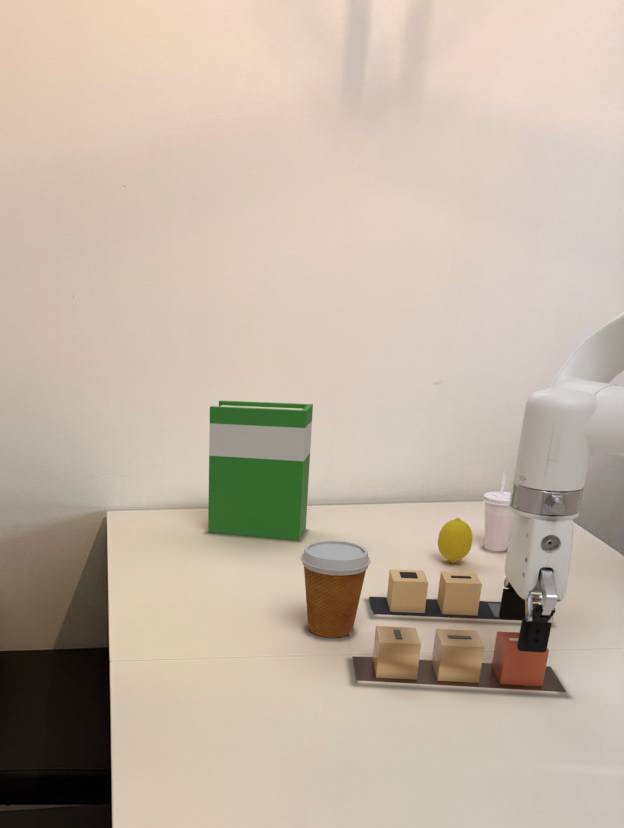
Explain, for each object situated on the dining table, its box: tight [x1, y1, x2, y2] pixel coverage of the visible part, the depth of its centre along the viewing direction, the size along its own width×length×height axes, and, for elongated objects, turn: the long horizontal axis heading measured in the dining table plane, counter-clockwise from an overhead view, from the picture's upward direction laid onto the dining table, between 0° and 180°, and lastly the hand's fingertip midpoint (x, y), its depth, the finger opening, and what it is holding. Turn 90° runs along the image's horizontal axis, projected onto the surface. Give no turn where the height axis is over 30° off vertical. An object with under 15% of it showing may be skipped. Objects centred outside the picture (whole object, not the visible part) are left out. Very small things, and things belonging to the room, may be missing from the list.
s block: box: [491, 631, 550, 687], centre depth 108 cm, size 5×5×5 cm
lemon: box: [437, 517, 473, 564], centre depth 148 cm, size 6×6×8 cm
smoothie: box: [482, 470, 515, 552], centre depth 154 cm, size 6×6×14 cm
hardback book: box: [207, 400, 314, 541], centre depth 164 cm, size 18×7×24 cm, turn 71°
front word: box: [352, 625, 567, 693], centre depth 110 cm, size 25×7×6 cm, turn 81°
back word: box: [368, 568, 540, 622], centre depth 129 cm, size 25×7×6 cm, turn 81°
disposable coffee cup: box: [300, 540, 371, 639], centre depth 122 cm, size 10×10×12 cm
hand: (521, 634), depth 107 cm, fingers open, 9 cm apart
